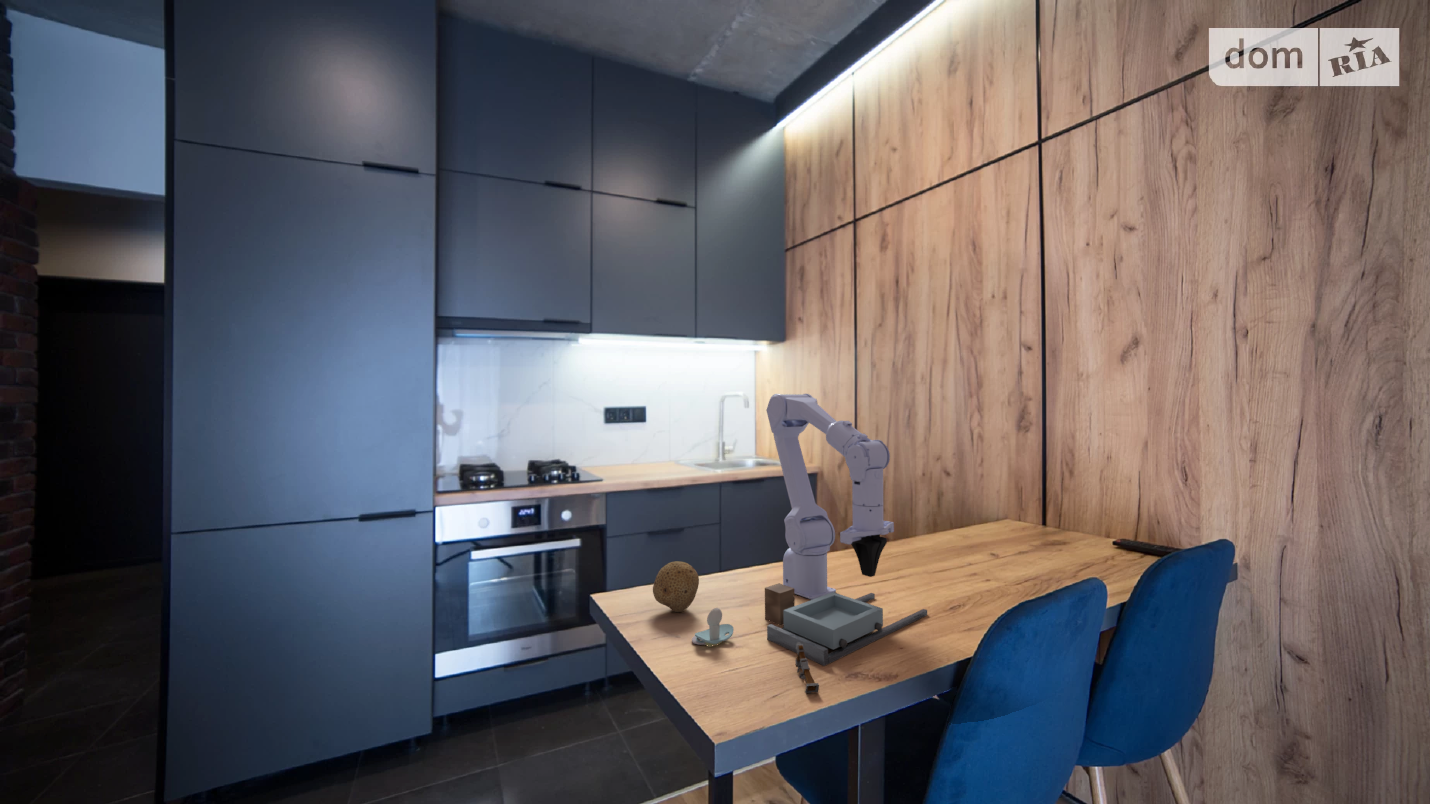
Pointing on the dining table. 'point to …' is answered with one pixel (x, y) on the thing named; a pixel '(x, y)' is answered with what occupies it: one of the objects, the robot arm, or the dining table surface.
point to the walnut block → (778, 602)
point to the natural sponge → (676, 585)
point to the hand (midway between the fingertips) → (868, 575)
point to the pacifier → (714, 630)
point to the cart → (833, 619)
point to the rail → (821, 653)
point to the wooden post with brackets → (805, 670)
